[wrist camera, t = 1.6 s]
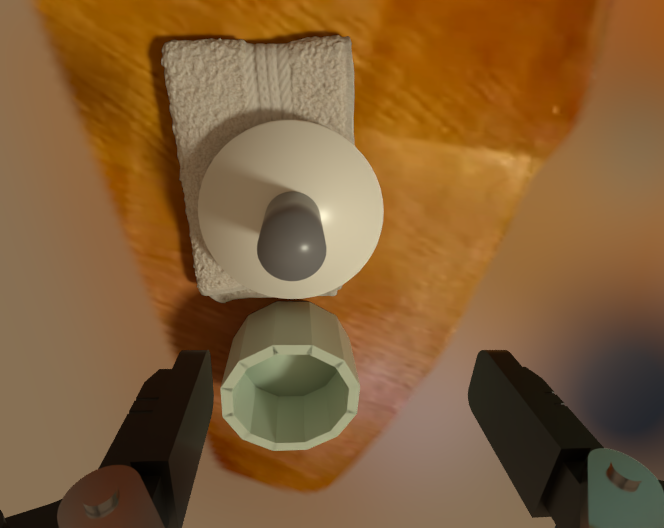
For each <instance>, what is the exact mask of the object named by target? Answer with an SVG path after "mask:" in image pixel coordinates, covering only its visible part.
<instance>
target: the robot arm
mask: <svg viewBox="0 0 664 528" xmlns="http://www.w3.org/2000/svg"><path fill="white" fill-rule="evenodd" d="M213 397H214V394H213V380H212V367H211V356H210V352H209V350H182V351H181V352H180V353H179V355H178V357H177V359H176V362H175V364H174V366H173V368H172V369H159V370H158V371H157V372H156V373H155V374H153V375H152V376H151V377H150V378H149V379H148V380H147V381H146V382H144V384H143V386H142V388H141V390H140V392H139V394H138V396H137V397H136V401H134V403H133V405H132V407H131V409H130V411H129V414H127V416H126V418H125V420H124V422H123V424H122V426H121V428H120V429H119V431H118V433H117V435H116V437H115V439H114V441H113V443H112V444H111V446H110V448H109V450H108V452H107V454H106V456H105V458H104V460H103V461H102V463H101V465H100V467H99V468H98V470H95V471H93V472H91V473H89V474H88V475H86V476H84V477H83V478H82V479H80V480H79V481H78V482H76V483H75V485H73V486H72V487H71V488H70V489H69V490H68V492H67V493H66V494H65V496H64V497H63V499H61V500H59V501H57V502H54V503H51V504H48V505H45V506H42V507H39V508H36V509H32V510H29V511H26V512H23V513H20V514H17V515H13V516H10V517H7V518H4V516H3V513H2V512H1V510H0V528H182V525H183V521H184V517H185V514H186V510H187V506H188V502H189V498H190V495H191V491H192V487H193V483H194V479H195V476H196V472H197V468H198V464H199V460H200V457H201V453H202V449H203V445H204V442H205V438H206V434H207V430H208V427H209V423H210V419H211V415H212V409H213ZM468 401H469V405H470V408H471V410H472V412H473V414H474V416H475V418H476V419H477V421H478V423H479V425H480V427H481V428H482V430H483V432H484V434H485V435H486V437H487V439H488V441H489V442H490V444H491V446H492V448H493V450H494V451H495V453H496V455H497V456H498V458H499V460H500V462H501V463H502V465H503V467H504V469H505V470H506V472H507V474H508V476H509V478H510V479H511V481H512V483H513V485H514V486H515V488H516V490H517V492H518V493H519V495H520V497H521V499H522V500H523V502H524V504H525V506H526V508H527V509H528V511H529V513H530V514H531V516H532V518H533V517H552V519H553V520H554V522H555V524H556V526H555V528H664V481H661V480H657V478H656V477H655V476H654V475H653V474H652V473H651V472H650V471H649V470H648V469H647V468H646V467H645V466H643V465H642V464H641V463H639V462H638V461H636V460H635V459H633V458H631V457H630V456H628V455H626V454H623V453H621V452H618V451H616V450H611V449H606V448H604V447H603V446H602V445H601V444H600V443H599V442H598V441H597V439H595V437H594V436H593V435H592V434H591V433H590V432H589V431H588V430H587V428H586V427H585V426H584V425H583V424H582V423H581V422H580V421H579V419H578V418H577V417H576V416H575V415H574V414H573V412H572V411H571V410H570V409H569V408H568V407H567V406H565V405H564V402H563V401H562V400H561V399H560V398H559V397H558V396H557V395H555V394H554V391H553V390H552V389H551V388H550V387H549V386H548V384H547V383H546V382H545V381H544V380H543V379H542V378H541V377H539V376H538V375H536V374H535V373H534V372H532V371H531V370H529V369H528V368H526V367H522V366H521V365H520V364H519V362H518V361H517V360H516V359H515V358H514V357H513V355H512V354H511V353H510V352H509V351H507V350H482V351H480V352H479V353H478V355H477V359H476V363H475V367H474V370H473V375H472V378H471V382H470V386H469V390H468Z"/></svg>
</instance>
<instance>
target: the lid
mask: <svg viewBox="0 0 664 528" xmlns="http://www.w3.org/2000/svg"><path fill="white" fill-rule="evenodd" d="M383 212H384V210H383V198H382V194H381V189H380V186H379V183H378V180H377V177H376V175H375V173H374V171H373V169H372V167H371V166H370V164H369V163H368V161H367V160H366V158H365V157H364V156H363V155H362V153H361V152H360V151H359V150H358V149H357V148H356V147H355V146H354V145H353V144H352V143H350V142H349V141H348V140H347V139H345V138H344V137H343V136H341V135H340V134H338V133H337V132H335V131H333V130H332V129H329V128H327V127H325V126H322V125H320V124H316V123H313V122H309V121H303V120H295V119H294V120H276V121H270V122H266V123H263V124H259V125H257V126H254V127H252V128H250V129H248V130H246V131H244V132H243V133H241V134H240V135H238V136H236V137H235V138H234V139H232V140H231V141H230V142H229V143H228V144H226V145H225V146H224V147H223V148H222V149H221V150H220V152H219V153H218V154H217V155H216V156H215V157H214V159H213V161H212V162H211V164H210V165H209V167H208V169H207V171H206V173H205V176H204V178H203V180H202V184H201V188H200V191H199V199H198V218H199V224H200V229H201V232H202V236H203V239H204V241H205V243H206V246H207V248H208V250H209V251H210V253H211V255H212V256H213V258H214V259H215V261H216V262H217V263H218V264H219V266H220V267H221V268H222V269H223V270H224V271H225V272H226V273H227V274H228V275H229V276H230V277H232V278H233V279H234V280H236V281H237V282H238V283H240V284H242V285H243V286H245V287H247V288H248V289H251V290H253V291H255V292H258V293H260V294H264V295H267V296H271V297H276V298H284V299H302V298H309V297H314V296H318V295H321V294H324V293H327V292H329V291H332V290H334V289H336V288H337V287H339V286H341V285H343V284H344V283H346V282H347V281H348V280H350V279H351V278H352V277H353V276H355V275H356V274H357V273H358V272H359V271H360V270H361V269H362V267H363V266H364V265H365V264H366V263H367V261H368V260H369V258H370V257H371V255H372V253H373V251H374V249H375V247H376V245H377V243H378V240H379V237H380V234H381V229H382V224H383Z"/></svg>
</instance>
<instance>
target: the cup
mask: <svg viewBox="0 0 664 528" xmlns="http://www.w3.org/2000/svg"><path fill="white" fill-rule="evenodd" d="M359 391H360V383H359V379H358V375H357V370H356V366H355V361H354V357H353V353H352V348H351V344H350V339H349V337H348V335H347V334H346V332H345V330H344V329H343V327H342V325H341V323H340V322H339V320H338V318H337V317H336V315H334V314H332V313H330V312H328V311H326V310H324V309H322V308H320V307H318V306H317V305H315V304H313V303H311V302H291V301H276V302H274V303H272V304H270V305H268V306H266V307H264V308H262V309H260V310H258V311H256V312H254V313H252V314H250V315H248V317H247V318H246V320H245V321H244V323H243V324H242V326H241V327H240V329H239V330H238V332H237V333H236V335H235V337H234V338H233V341H232V345H231V349H230V353H229V357H228V361H227V365H226V369H225V373H224V377H223V381H222V385H221V401H222V415H223V418H224V419H225V420H226V421H227V422H228V423H229V425H230V426H231V427H232V428H233V429H234V430H235V431H236V433H237V434H238V435H239V436H240V437H241V438H242V439H243V440H246V441H249V442H251V443H254V444H257V445H259V446H262V447H264V448H267V449H270V450H272V451H279V450H307V449H310V448H312V447H314V446H316V445H319V444H321V443H323V442H326V441H328V440H330V439H332V438H335V437H337V436H338V435H339V434H340V433H341V432H342V430H343V429H344V428H345V427H346V426H347V425H348V423H349V422H350V421H351V420H352V419H353V418H354V416H355V415H356V414H357V408H358V400H359Z"/></svg>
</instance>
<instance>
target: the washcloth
mask: <svg viewBox="0 0 664 528" xmlns="http://www.w3.org/2000/svg"><path fill="white" fill-rule="evenodd" d="M351 45H352V43H351V40H350V37H348V36H347V37H341V36H339V35H333V36H325V37H322V38H320V37H316V36H314V37H312V38H310V37H307V38H304V39H301V40H296V41H290V42H289V43H287V44H263V43H257V44H251V43H246V42H245V41H244V40H242V39H239V40H229V39H224V40H222V39H221V38H219V39H217V40H216V39H212V38H210V39H202V40H196V41H191V40H180V41H178V40H171V41H169V42H166V43H165V44H164V45H163V47H162V53H163V54H162V55H163V58H162V59H161V65H163V66H164V67H165V70H164V76H165V83H166V88H167V92H168V96H169V100H170V106H169V108H170V109H169V110H170V113H171V117H172V119H173V124H172V128H173V133H174V135H175V140H176V145H177V157H178V159H179V163H180V178H179V180H180V181H181V182H182V187H183V192H184V194H185V198H184V201H185V203H186V209H185V211H186V215H187V219H188V222H189V226H190V237H191V242H192V249H193V252H192V254H193V257H194V265H193V266H194V268H195V273H196V277H197V284H198V285H197V287H198V288H199V291H200V293H201V294H202V295H204V296H210V297H211V298H213V299H214V300H216V301H218V302H220V303H226V302H228V301H231V300H233V299H243V298H267V297H269V298H271V296H267V295H264V294H260V293H258V292H255V291H253V290H251V289H248V288H247V287H245V286H243V285H242V284H240V283H238V282H237V281H236V280H234V279H233V278H232V277H230V276H229V275H228V274H227V273H226V272H225V271H224V270H223V269H222V268H221V267H220V266H219V264H218V263H217V262H216V261H215V259H214V258H213V256H212V255H211V253H210V251H209V250H208V248H207V246H206V243H205V241H204V239H203V236H202V232H201V229H200V224H199V218H198V199H199V191H200V188H201V184H202V180H203V178H204V176H205V173H206V171H207V169H208V167H209V165H210V164H211V162H212V161H213V159H214V157H215V156H216V155H217V154H218V153H219V152H220V150H221V149H222V148H223V147H224V146H225V145H226V144H228V143H229V142H230V141H231V140H232V139H234V138H235V137H236V136H238V135H240V134H241V133H243V132H244V131H246V130H248V129H250V128H252V127H254V126H257V125H259V124H263V123H266V122H270V121H276V120H294V119H295V120H303V121H309V122H313V123H316V124H320V125H322V126H325V127H327V128H329V129H332V130H333V131H335V132H337V133H338V134H340V135H341V136H343V137H344V138H345V139H347V140H348V141H349V142H350V143H352V144H353V145H354V119H353V118H354V67H353V64H354V63H353V60H352V51H351ZM341 288H342V285H341V286H339V287H337V288H336V289H334V290H332V291H329V292H327V293H324V294H321V295H318V296H327V295H329V296H335V295H336V294H337V290H338V289H341Z"/></svg>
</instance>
